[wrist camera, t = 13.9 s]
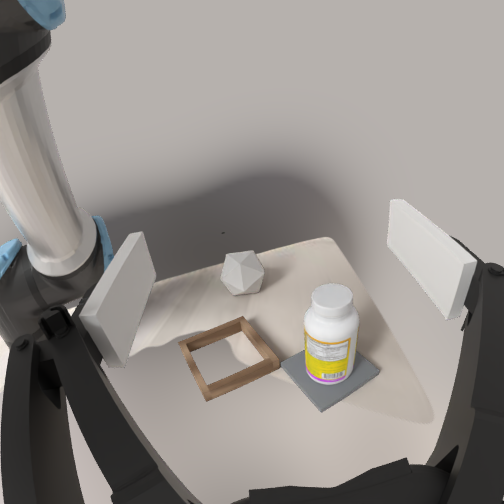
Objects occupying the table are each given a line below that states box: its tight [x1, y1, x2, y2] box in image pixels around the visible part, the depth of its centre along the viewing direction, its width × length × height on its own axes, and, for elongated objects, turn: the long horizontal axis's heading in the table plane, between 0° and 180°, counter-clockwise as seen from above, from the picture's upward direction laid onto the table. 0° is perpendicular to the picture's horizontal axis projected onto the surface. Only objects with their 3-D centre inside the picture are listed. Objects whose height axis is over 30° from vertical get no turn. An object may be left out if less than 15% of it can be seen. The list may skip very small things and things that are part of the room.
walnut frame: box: [178, 316, 280, 401], centre depth 43 cm, size 12×12×2 cm
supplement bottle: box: [304, 283, 359, 385], centre depth 35 cm, size 7×7×13 cm
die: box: [220, 251, 265, 296], centre depth 57 cm, size 8×9×10 cm
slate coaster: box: [280, 350, 380, 412], centre depth 38 cm, size 10×10×1 cm
